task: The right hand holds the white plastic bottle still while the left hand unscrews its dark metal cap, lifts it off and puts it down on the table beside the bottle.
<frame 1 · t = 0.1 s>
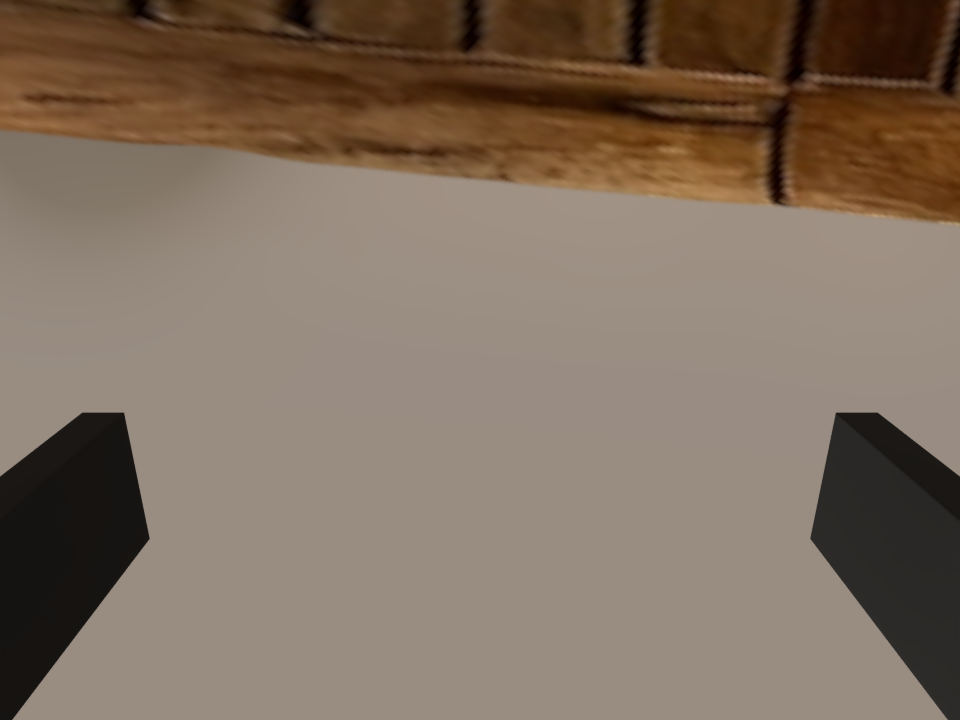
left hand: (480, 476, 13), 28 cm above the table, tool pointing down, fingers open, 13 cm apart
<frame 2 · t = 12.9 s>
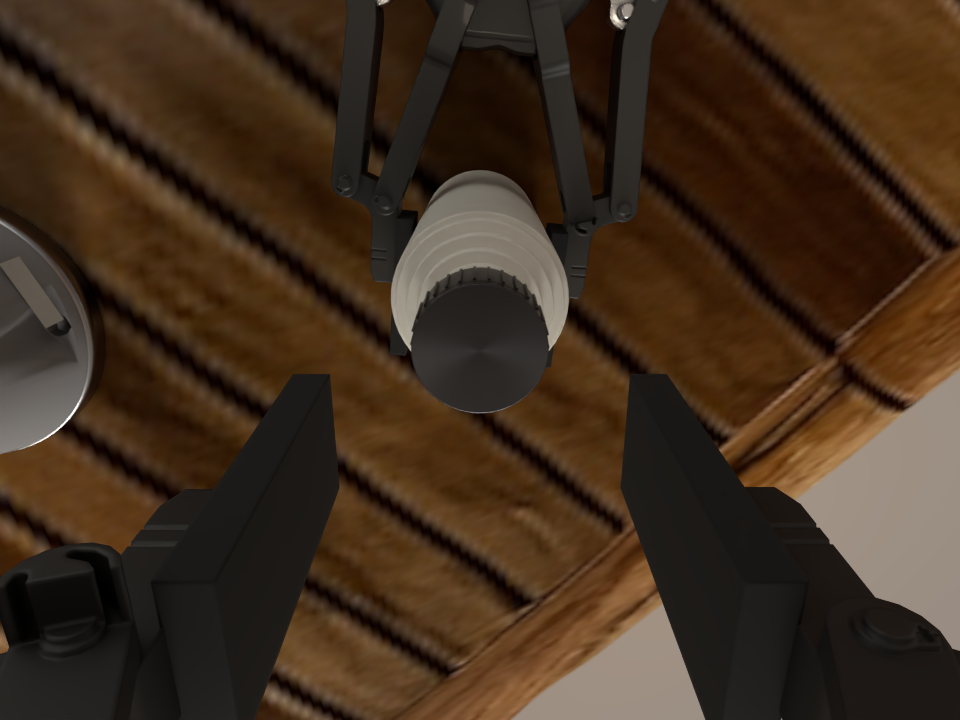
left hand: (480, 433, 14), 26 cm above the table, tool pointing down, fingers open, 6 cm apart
bottle: (479, 227, 38), on the table, touching right hand
cap: (479, 347, 20), point 20 cm above the table, screwed on, not yet turned
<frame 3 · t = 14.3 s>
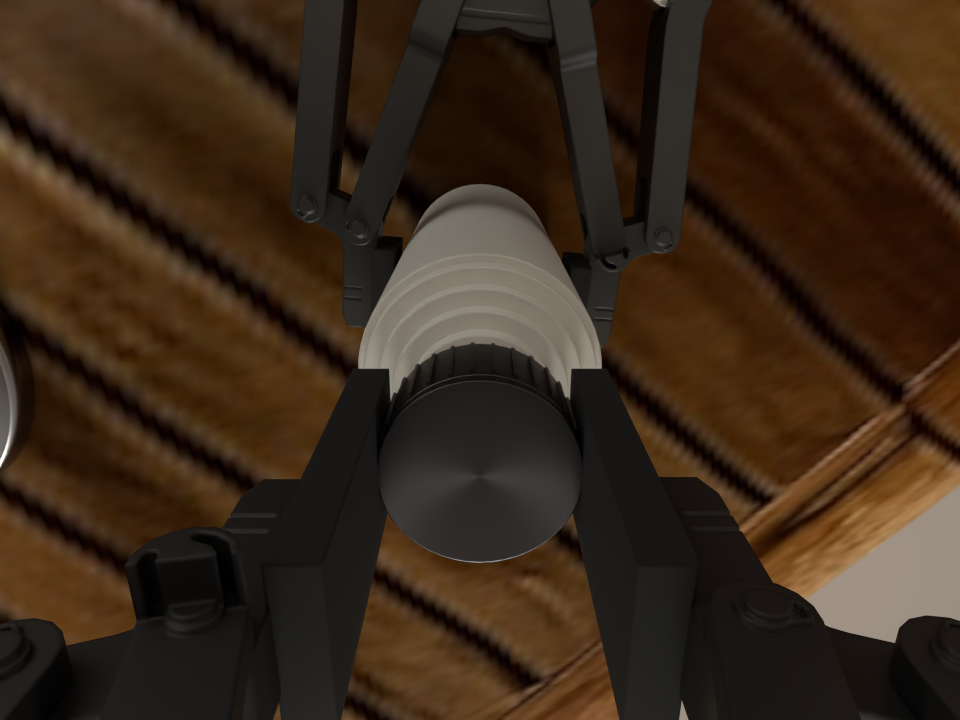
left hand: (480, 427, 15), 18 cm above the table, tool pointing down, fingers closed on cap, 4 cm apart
bottle: (480, 253, 32), on the table, touching right hand
cap: (480, 468, 13), point 20 cm above the table, screwed on, not yet turned, touching left hand
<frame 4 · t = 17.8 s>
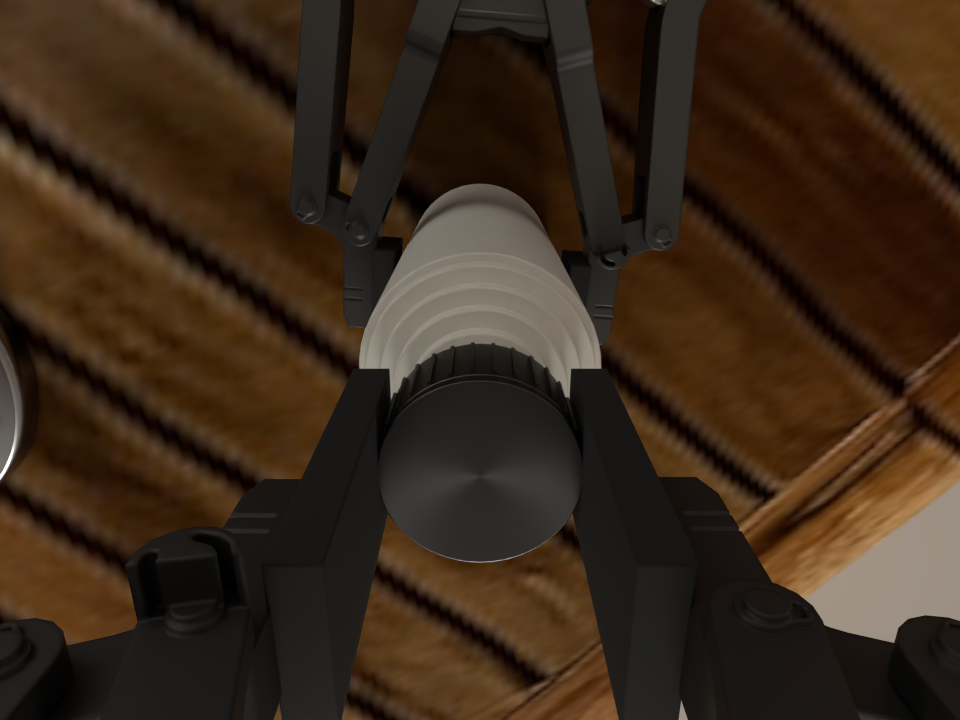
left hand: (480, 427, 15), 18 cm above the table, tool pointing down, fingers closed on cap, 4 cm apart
bottle: (480, 252, 32), on the table, touching right hand
cap: (480, 468, 13), point 20 cm above the table, turned 119° so far, risen 0.1 cm, still on its thread, touching left hand
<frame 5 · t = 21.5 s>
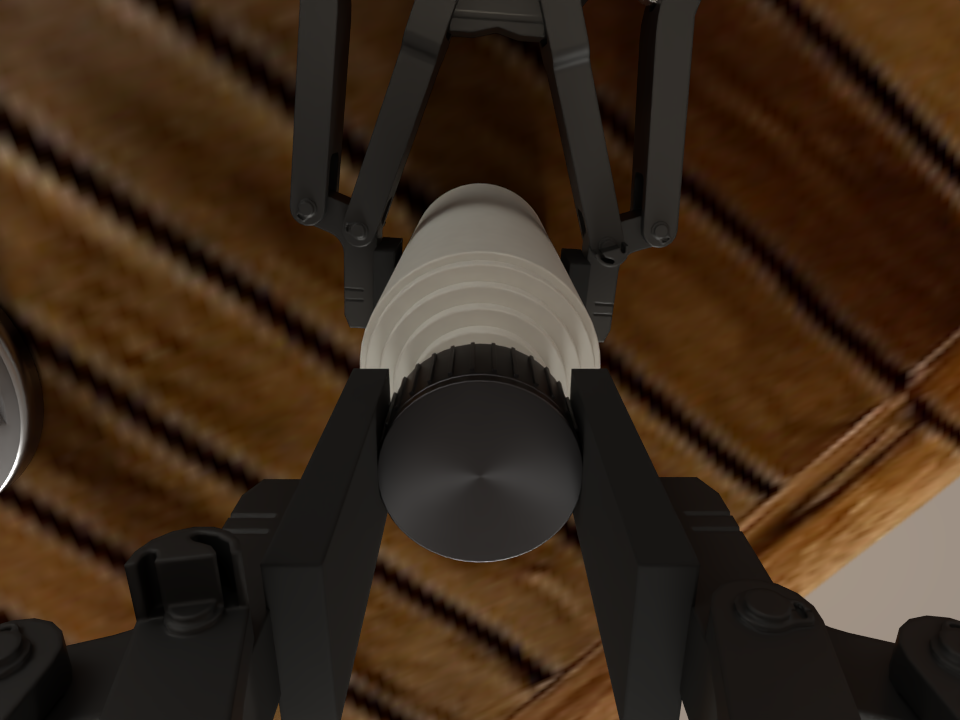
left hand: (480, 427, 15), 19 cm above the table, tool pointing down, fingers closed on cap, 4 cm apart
bottle: (480, 252, 32), on the table, touching right hand
cap: (480, 468, 13), point 20 cm above the table, turned 238° so far, risen 0.2 cm, still on its thread, touching left hand
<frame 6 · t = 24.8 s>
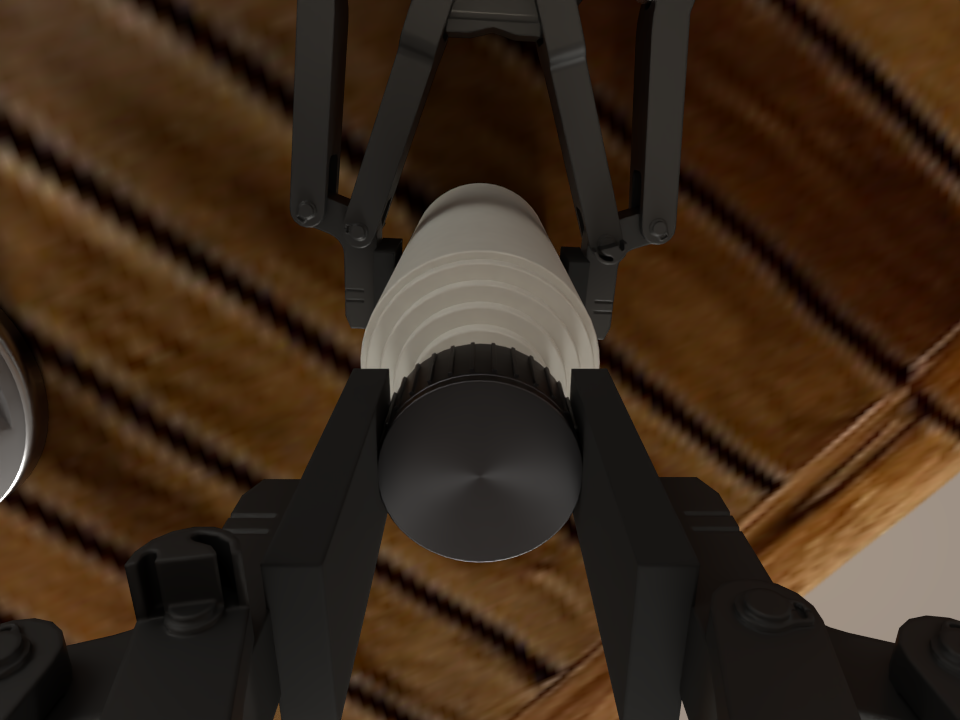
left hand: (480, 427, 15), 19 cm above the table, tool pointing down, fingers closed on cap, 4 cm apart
bottle: (480, 251, 32), on the table, touching right hand
cap: (480, 468, 13), point 20 cm above the table, turned 358° so far, risen 0.4 cm, still on its thread, touching left hand
when the left hand's fingers open (1 cm above the table, at t = 31.5 s): cap stays where it is, point 2 cm above the table.
when the right hand's fingers open (6 cm above the table, at t = 32.8 s): bottle stays where it is, on the table.
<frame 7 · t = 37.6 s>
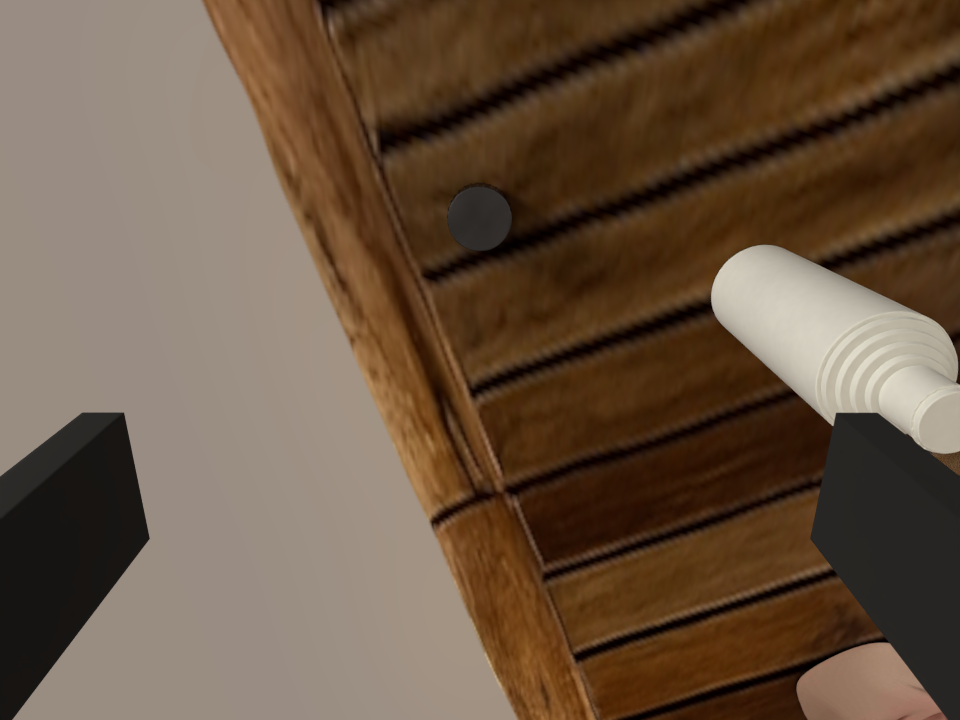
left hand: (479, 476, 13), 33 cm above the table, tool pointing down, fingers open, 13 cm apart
anatomical model: (874, 693, 58), on the table
bottle: (758, 291, 45), on the table
cap: (479, 218, 42), point 2 cm above the table, off its thread
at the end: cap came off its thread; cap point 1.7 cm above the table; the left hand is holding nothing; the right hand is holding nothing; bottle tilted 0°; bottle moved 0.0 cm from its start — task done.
